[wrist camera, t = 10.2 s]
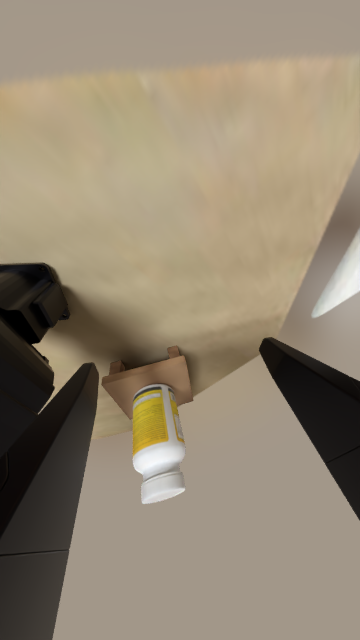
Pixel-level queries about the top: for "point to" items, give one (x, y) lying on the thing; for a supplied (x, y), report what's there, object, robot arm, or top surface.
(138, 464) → the pill bottle
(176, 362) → the small wooden stand
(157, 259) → the top surface
